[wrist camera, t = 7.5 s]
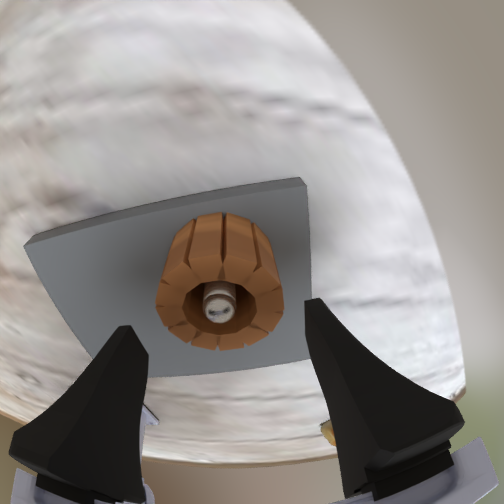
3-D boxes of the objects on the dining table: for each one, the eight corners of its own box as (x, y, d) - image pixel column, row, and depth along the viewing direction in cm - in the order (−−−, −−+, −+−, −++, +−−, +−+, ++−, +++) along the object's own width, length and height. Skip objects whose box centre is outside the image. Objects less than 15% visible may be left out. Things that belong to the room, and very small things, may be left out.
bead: (185, 304, 17) (179, 355, 14) (157, 223, 14) (137, 267, 11) (276, 290, 17) (287, 340, 13) (265, 204, 14) (277, 244, 11)
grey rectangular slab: (111, 364, 22) (107, 377, 21) (34, 235, 15) (23, 246, 14) (307, 344, 22) (311, 358, 21) (299, 177, 15) (306, 185, 14)
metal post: (210, 273, 16) (206, 332, 12) (204, 251, 15) (197, 308, 11) (236, 269, 16) (239, 327, 12) (231, 246, 15) (233, 302, 11)
